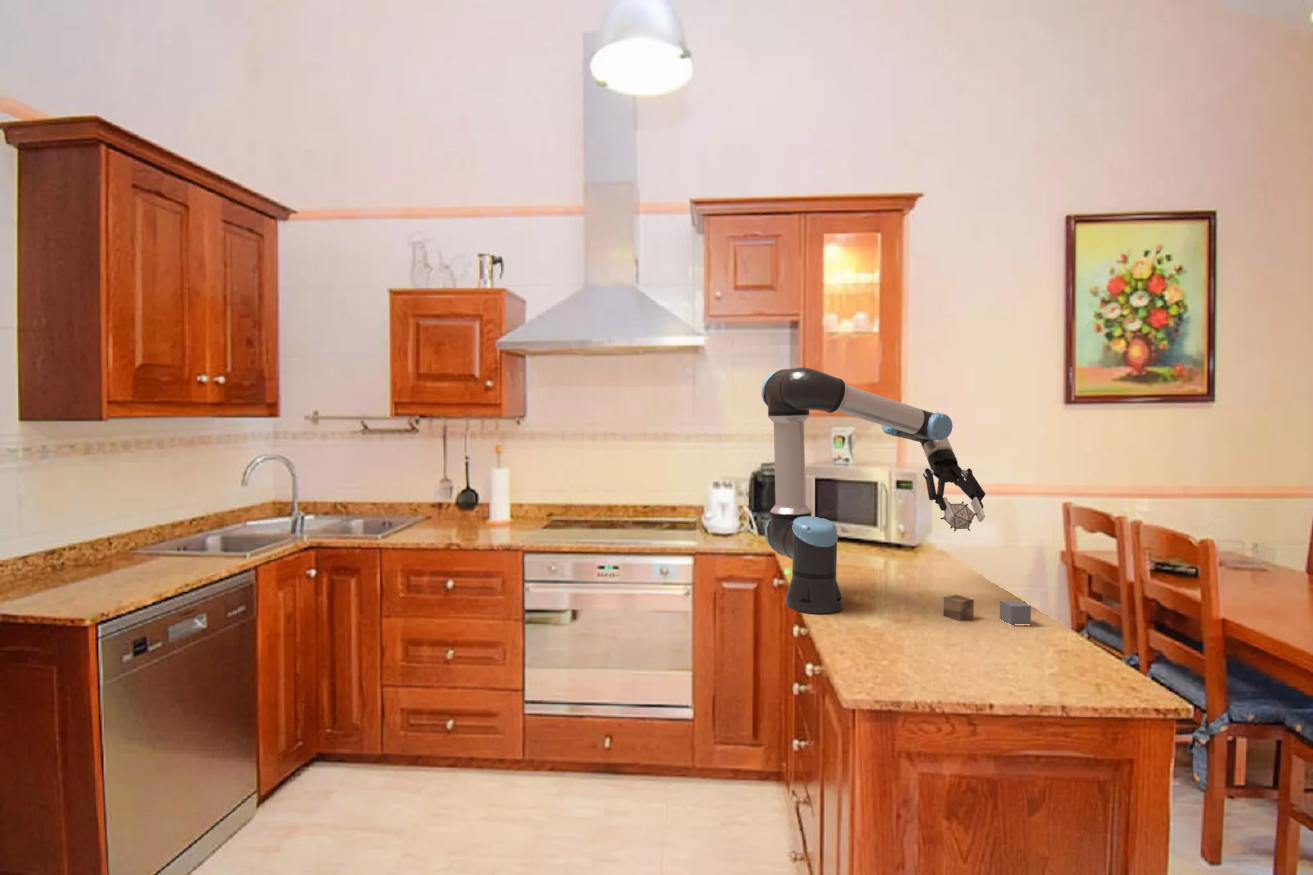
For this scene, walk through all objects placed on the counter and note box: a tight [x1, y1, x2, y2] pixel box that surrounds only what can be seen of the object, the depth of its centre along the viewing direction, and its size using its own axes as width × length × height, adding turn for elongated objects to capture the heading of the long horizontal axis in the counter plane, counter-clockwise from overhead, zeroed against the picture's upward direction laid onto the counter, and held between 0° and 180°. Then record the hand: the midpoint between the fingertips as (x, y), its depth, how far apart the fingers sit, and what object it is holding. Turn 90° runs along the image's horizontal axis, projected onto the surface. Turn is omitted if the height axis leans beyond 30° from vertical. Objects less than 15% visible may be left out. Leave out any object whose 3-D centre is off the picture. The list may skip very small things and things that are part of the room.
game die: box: [939, 501, 977, 533], centre depth 188 cm, size 9×8×10 cm
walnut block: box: [942, 594, 975, 622], centre depth 175 cm, size 5×5×5 cm
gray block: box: [999, 599, 1032, 625], centre depth 170 cm, size 5×5×5 cm
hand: (966, 518), depth 185 cm, fingers closed on game die, 8 cm apart
